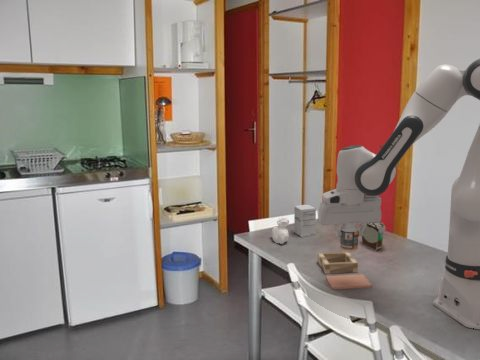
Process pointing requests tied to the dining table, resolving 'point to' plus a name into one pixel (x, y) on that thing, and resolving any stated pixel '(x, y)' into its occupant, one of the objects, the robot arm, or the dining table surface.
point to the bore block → (337, 262)
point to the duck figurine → (280, 231)
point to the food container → (373, 235)
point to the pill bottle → (349, 237)
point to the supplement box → (305, 220)
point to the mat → (348, 281)
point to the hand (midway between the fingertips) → (349, 236)
